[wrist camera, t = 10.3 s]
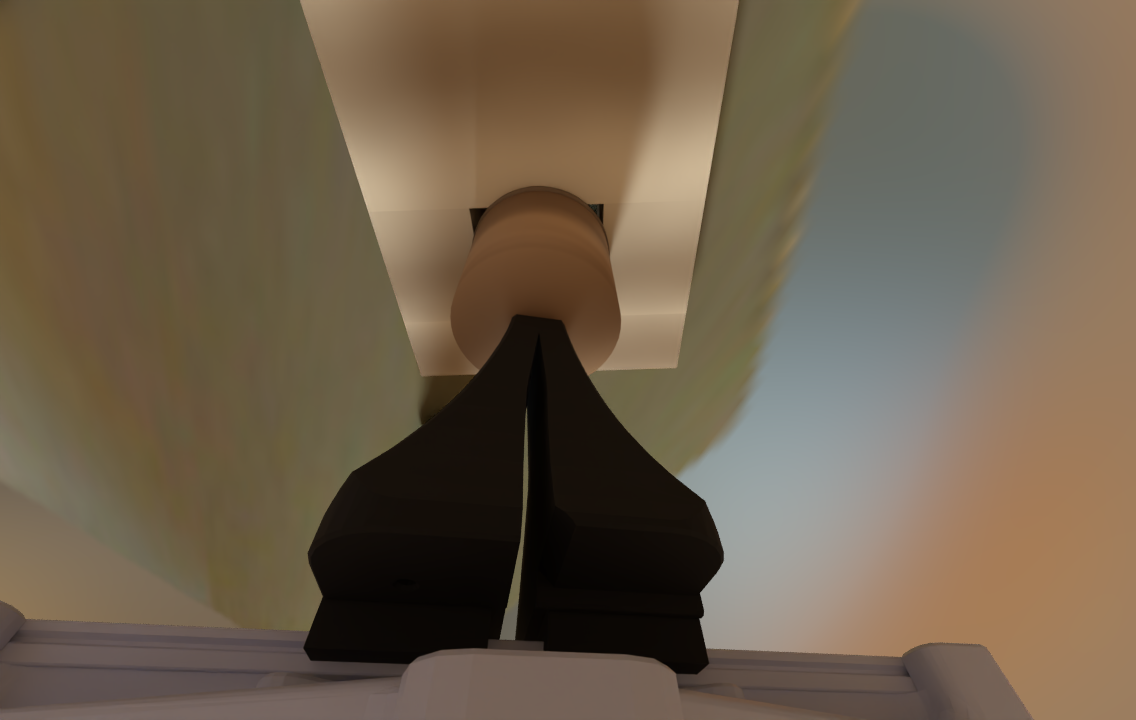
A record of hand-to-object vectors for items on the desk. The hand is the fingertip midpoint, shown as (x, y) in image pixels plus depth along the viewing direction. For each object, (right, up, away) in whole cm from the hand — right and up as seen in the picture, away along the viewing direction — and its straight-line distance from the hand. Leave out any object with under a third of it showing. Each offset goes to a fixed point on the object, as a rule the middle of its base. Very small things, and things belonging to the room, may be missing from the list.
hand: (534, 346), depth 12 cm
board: (0, +7, +4) cm, 8 cm away
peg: (0, +5, +5) cm, 7 cm away
